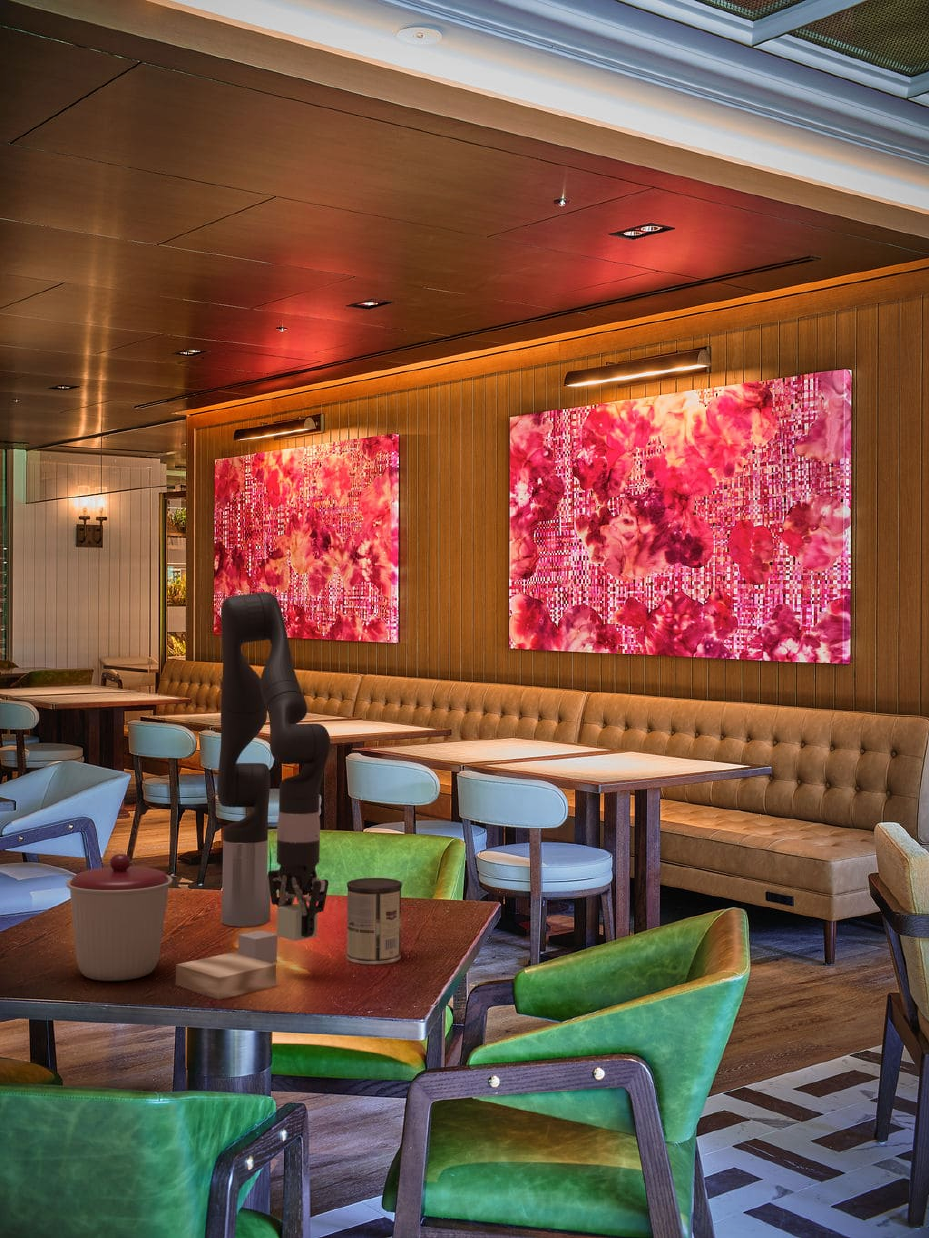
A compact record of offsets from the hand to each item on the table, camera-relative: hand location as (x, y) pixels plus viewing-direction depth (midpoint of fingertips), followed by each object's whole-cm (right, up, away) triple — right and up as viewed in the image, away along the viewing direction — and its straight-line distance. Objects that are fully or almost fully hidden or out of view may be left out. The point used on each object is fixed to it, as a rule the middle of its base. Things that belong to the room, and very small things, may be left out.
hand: (296, 932), depth 222 cm
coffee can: (+13, -8, +14) cm, 20 cm away
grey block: (-9, -8, +10) cm, 15 cm away
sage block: (0, -1, 0) cm, 1 cm away
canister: (-31, -7, -1) cm, 32 cm away
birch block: (-11, -8, -7) cm, 15 cm away
